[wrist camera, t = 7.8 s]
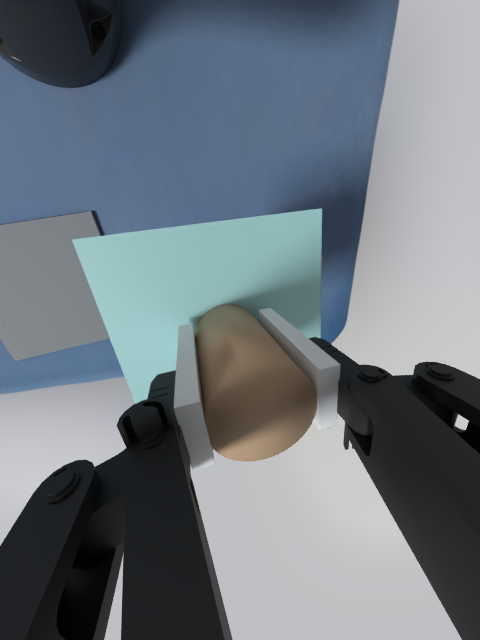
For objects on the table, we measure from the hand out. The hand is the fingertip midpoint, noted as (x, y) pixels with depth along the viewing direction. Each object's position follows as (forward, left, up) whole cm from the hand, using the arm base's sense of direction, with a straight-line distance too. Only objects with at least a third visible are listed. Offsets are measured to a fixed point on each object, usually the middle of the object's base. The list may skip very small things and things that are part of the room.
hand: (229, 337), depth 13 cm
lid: (0, 0, -2) cm, 2 cm away
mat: (-2, -21, -25) cm, 33 cm away
